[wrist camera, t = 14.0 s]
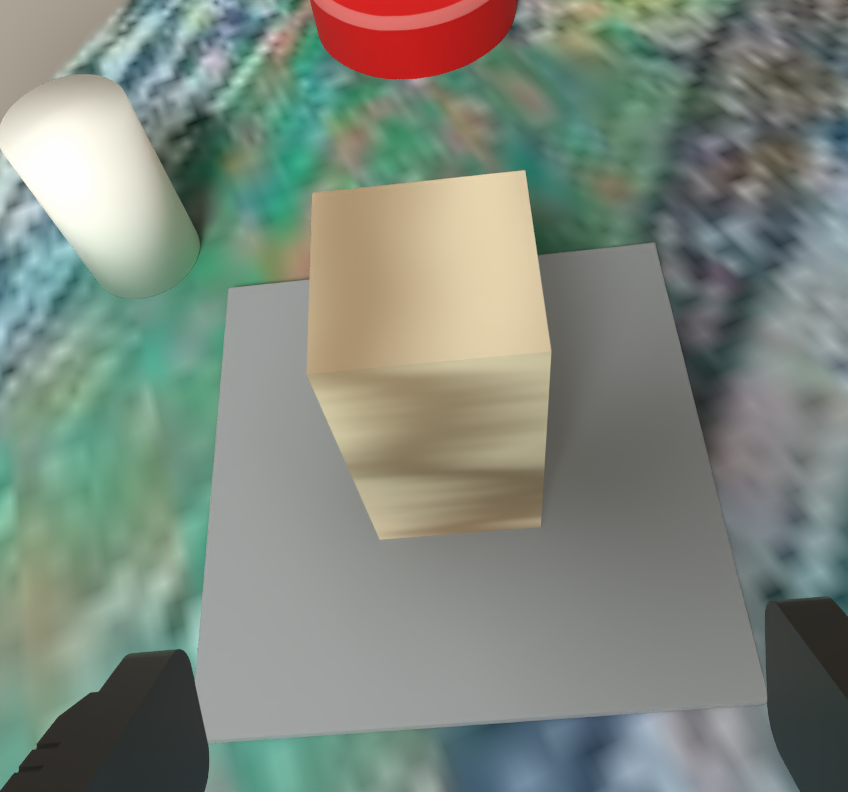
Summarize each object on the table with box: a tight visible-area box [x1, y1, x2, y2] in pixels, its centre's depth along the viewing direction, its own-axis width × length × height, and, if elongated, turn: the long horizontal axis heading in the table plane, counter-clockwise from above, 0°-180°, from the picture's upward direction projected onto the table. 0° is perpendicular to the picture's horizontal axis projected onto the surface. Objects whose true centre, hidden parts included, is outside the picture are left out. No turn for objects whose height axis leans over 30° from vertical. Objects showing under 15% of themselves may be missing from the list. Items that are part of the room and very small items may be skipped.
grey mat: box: [195, 243, 767, 744], centre depth 27 cm, size 16×16×1 cm
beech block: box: [306, 170, 551, 540], centre depth 22 cm, size 5×5×10 cm
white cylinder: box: [0, 74, 200, 299], centre depth 30 cm, size 4×4×7 cm
